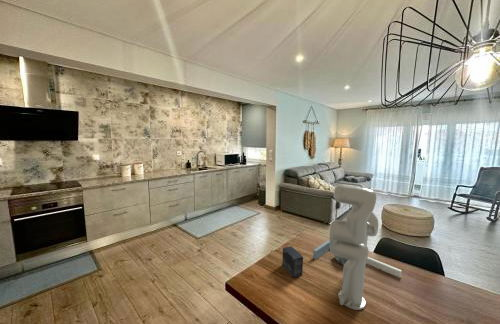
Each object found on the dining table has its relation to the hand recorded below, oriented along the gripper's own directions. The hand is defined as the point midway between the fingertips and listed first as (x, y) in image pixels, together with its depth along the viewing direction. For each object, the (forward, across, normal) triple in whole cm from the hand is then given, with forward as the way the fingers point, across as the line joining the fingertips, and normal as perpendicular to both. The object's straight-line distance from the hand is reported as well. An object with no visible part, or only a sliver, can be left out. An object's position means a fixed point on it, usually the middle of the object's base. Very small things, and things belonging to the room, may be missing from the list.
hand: (358, 262), depth 131 cm
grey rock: (+6, +2, +11) cm, 12 cm away
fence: (+5, +2, +3) cm, 6 cm away
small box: (+6, -30, +28) cm, 42 cm away
